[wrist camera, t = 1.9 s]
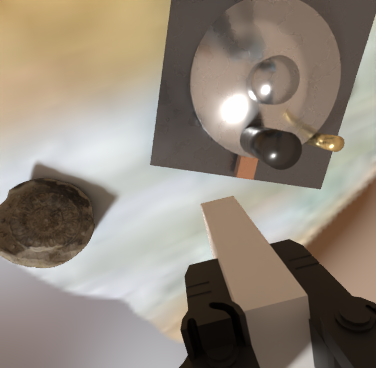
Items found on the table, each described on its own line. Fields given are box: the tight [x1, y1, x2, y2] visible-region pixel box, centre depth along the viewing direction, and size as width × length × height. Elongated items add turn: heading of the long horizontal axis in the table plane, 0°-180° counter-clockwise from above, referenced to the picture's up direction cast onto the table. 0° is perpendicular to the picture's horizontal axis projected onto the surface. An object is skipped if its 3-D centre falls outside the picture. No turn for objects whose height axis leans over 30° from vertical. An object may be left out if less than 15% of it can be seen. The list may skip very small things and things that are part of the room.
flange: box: [190, 0, 341, 180], centre depth 25 cm, size 18×16×9 cm
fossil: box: [0, 178, 95, 268], centre depth 32 cm, size 11×9×10 cm
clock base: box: [150, 0, 376, 189], centre depth 28 cm, size 22×22×7 cm
